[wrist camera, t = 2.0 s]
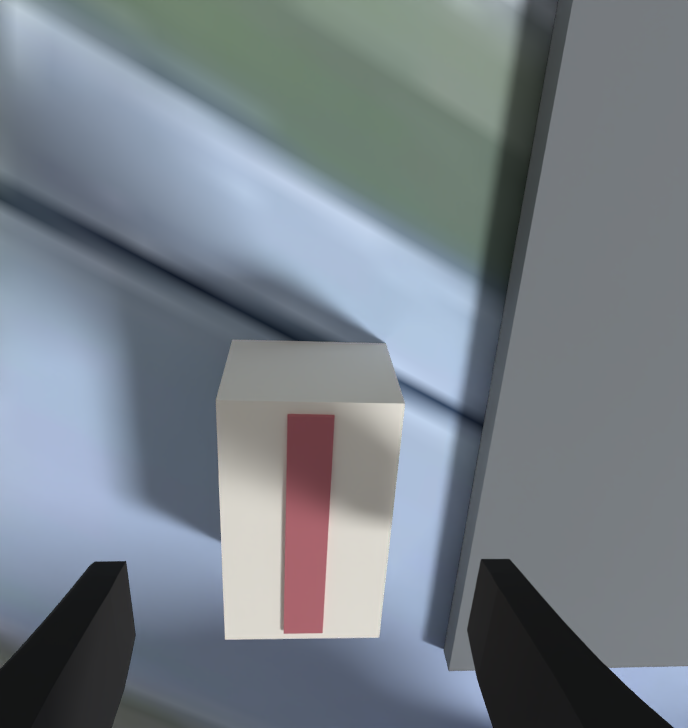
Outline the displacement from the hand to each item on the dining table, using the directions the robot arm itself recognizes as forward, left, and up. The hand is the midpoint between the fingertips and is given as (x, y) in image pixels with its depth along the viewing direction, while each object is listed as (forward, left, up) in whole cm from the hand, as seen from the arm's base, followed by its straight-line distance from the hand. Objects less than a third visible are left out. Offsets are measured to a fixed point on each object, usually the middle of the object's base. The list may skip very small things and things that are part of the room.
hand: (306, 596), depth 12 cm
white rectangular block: (0, 0, -6) cm, 6 cm away
